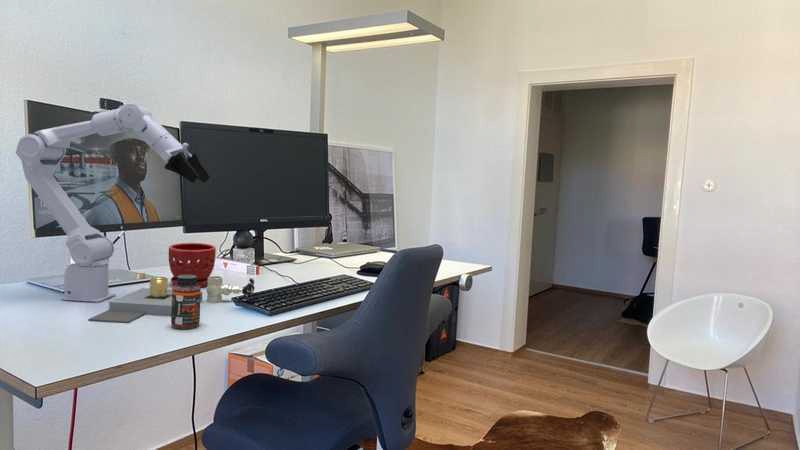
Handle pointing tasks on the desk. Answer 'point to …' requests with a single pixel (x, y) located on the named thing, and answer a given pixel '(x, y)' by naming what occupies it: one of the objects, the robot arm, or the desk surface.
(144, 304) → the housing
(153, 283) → the brass cover
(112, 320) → the rubber mat
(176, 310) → the supplement bottle
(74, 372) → the desk surface
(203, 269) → the plant pot
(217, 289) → the valve
